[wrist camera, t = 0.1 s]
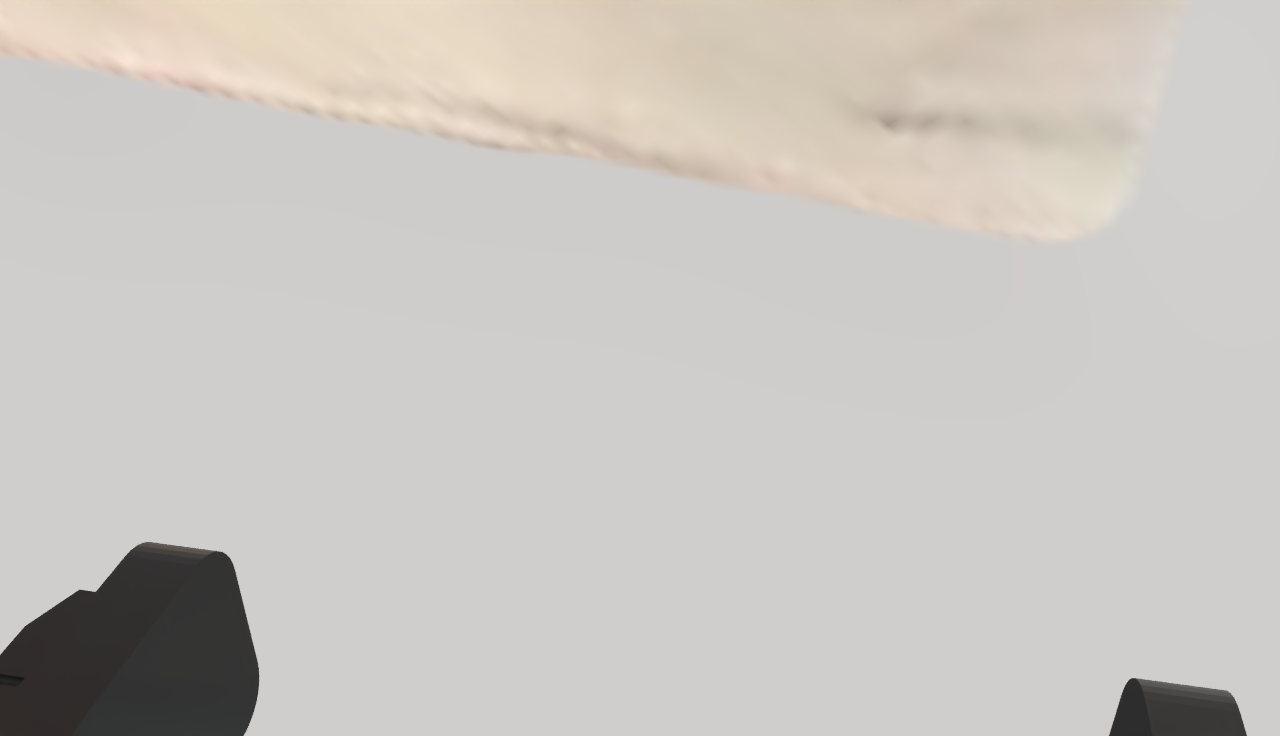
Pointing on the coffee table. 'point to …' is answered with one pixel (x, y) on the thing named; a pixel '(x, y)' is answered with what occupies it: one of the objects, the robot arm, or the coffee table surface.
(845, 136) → the coffee table surface
